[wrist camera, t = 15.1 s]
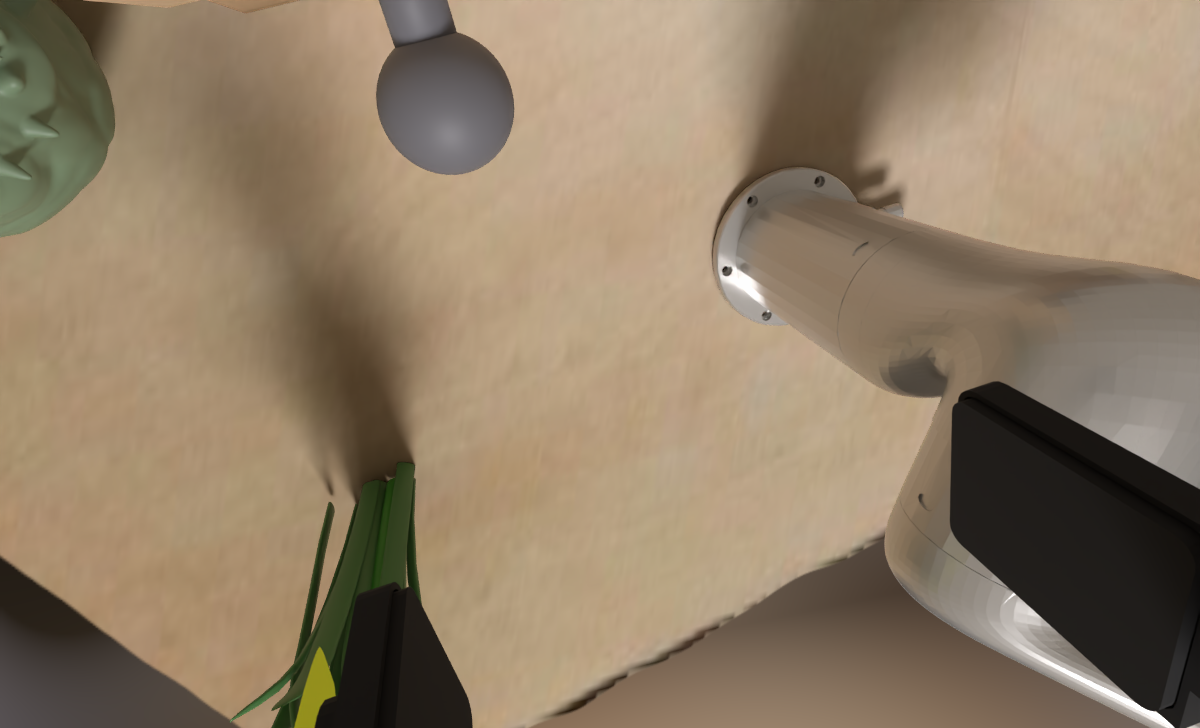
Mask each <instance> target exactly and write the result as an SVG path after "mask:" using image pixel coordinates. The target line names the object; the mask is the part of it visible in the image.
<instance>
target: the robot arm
mask: <svg viewBox="0 0 1200 728" xmlns="http://www.w3.org/2000/svg"><path fill="white" fill-rule="evenodd" d="M815 179H816V181H815ZM814 182H815V183H814ZM749 197H750V201H749V202H748V203H747V200H748V198H749ZM903 214H904V213H903V208H902V206H901V205H900V204H899V203H895V204H891V205H888V206H885V207H881V208H880V209H878V210H876V209H875V208H873V207H870V206H866V205H863V204H859V203H858V202H857V199H856V198H855V196H854V195H853V193H852V192H851V190H850V189H849V188H848V187H847V186H846V185H845V184H844V183H843V182H842V181H841V180H839V179H838V178H836V177H835V176H833V175H831V174H829V173H827V172H824V171H821V170H817V169H813V168H806V167H791V168H784V169H780V170H777V171H773V172H771V173H769V174H767V175H765V176H763V177H761V178H759V179H757V180H756V181H754V182H753V183H752V184H750V185H749V186H748V187H747V188H745V189H744V190H743V191H742V192H741V193H740V194H739V195H738V196H737V198H736V199H735V200H734V201H733V202H732V204H731V205H730V207H729V208H728V210H727V211H726V213H725V214H724V216H723V218H722V221H721V223H720V225H719V227H718V230H717V234H716V237H715V241H714V246H713V269H714V276H715V279H716V282H717V285H718V288H719V290H720V291H721V293H722V295H723V297H724V298H725V300H726V301H727V302H728V303H729V304H730V305H731V306H732V307H733V308H734V309H735V310H736V311H738V312H739V313H740V314H741V315H743V316H744V317H746V318H748V319H750V320H752V321H754V322H757V323H760V324H763V325H774V326H782V325H790V326H792V327H793V328H794V329H796V330H797V331H799V332H800V333H801V334H803V335H804V336H806V337H807V338H808V339H810V340H811V341H813V342H814V343H816V344H817V345H818V346H820V347H821V348H823V349H824V350H825V351H827V352H828V353H830V354H831V355H832V356H834V357H835V358H837V359H838V360H839V361H841V362H842V363H844V364H845V365H846V366H848V367H849V368H851V369H852V370H853V371H855V372H856V373H858V374H859V375H861V376H862V377H864V378H865V379H866V380H868V381H869V382H871V383H872V384H874V385H876V386H877V387H879V388H881V389H883V390H886V391H888V392H891V393H894V394H897V395H902V396H909V397H916V398H935V397H942V398H941V401H940V403H939V405H938V408H937V410H936V412H935V414H934V416H933V419H932V421H933V422H932V424H931V426H930V428H929V430H928V432H927V435H926V437H925V439H924V441H923V443H922V445H921V447H920V450H919V452H918V454H917V456H916V458H915V460H914V463H913V465H912V467H911V469H910V471H909V473H908V476H907V478H906V480H905V482H904V484H903V486H902V488H901V492H900V494H899V496H898V498H897V501H896V503H895V505H894V507H893V510H892V513H891V515H890V518H889V520H888V524H887V528H886V533H885V541H884V542H885V554H886V557H887V561H888V564H889V566H890V568H891V570H892V572H893V574H894V575H895V577H896V579H897V580H898V581H899V583H900V584H901V585H902V586H903V587H904V588H905V590H906V591H907V592H908V593H909V594H910V595H911V596H912V597H913V598H914V599H915V600H917V601H918V602H919V603H920V604H921V605H922V606H923V607H925V608H926V609H927V610H929V611H930V612H931V613H933V614H934V615H935V616H937V617H939V618H940V619H941V620H943V621H944V622H946V623H948V624H949V625H951V626H952V627H954V628H955V629H957V630H959V631H961V632H962V633H964V634H966V635H967V636H969V637H971V638H973V639H975V640H976V641H978V642H980V643H982V644H984V645H986V646H988V647H990V648H992V649H994V650H995V651H997V652H999V653H1001V654H1003V655H1005V656H1007V657H1009V658H1011V659H1013V660H1015V661H1017V662H1019V663H1021V664H1023V665H1025V666H1027V667H1029V668H1031V669H1033V670H1035V671H1037V672H1039V673H1041V674H1044V675H1045V676H1047V677H1049V678H1051V679H1053V680H1055V681H1057V682H1060V683H1061V684H1064V685H1066V686H1068V687H1070V688H1072V689H1074V690H1076V691H1078V692H1080V693H1082V694H1084V695H1086V696H1088V697H1090V698H1092V699H1094V700H1096V701H1098V702H1100V703H1102V704H1104V705H1106V706H1108V707H1110V708H1112V709H1114V710H1116V711H1118V712H1120V713H1122V714H1124V715H1126V716H1128V717H1130V718H1132V719H1134V720H1136V721H1138V722H1140V723H1142V724H1144V725H1146V726H1148V727H1150V728H1200V280H1199V279H1196V278H1192V277H1189V276H1186V275H1182V274H1179V273H1176V272H1173V271H1169V270H1164V269H1159V268H1153V267H1148V266H1142V265H1137V264H1131V263H1123V262H1114V261H1104V260H1095V259H1086V258H1076V257H1067V256H1059V255H1050V254H1044V253H1038V252H1032V251H1026V250H1020V249H1015V248H1011V247H1007V246H1003V245H999V244H995V243H991V242H987V241H983V240H979V239H975V238H971V237H968V236H964V235H961V234H958V233H954V232H951V231H947V230H943V229H940V228H937V227H933V226H930V225H927V224H923V223H920V222H916V221H913V220H910V219H906V218H903ZM725 266H726V267H725ZM724 267H725V270H723V271H722V269H723V268H724ZM763 312H764V313H763ZM315 728H472V714H471V708H470V704H469V700H468V697H467V695H466V693H465V691H464V689H463V687H462V685H461V683H460V681H459V679H458V677H457V675H456V673H455V671H454V669H453V667H452V665H451V663H450V661H449V659H448V657H447V655H446V653H445V651H444V649H443V647H442V645H441V643H440V641H439V639H438V637H437V635H436V633H435V631H434V629H433V627H432V625H431V623H430V621H429V619H428V617H427V615H426V613H425V611H424V609H423V607H422V605H421V603H420V601H419V599H418V597H417V595H416V593H415V591H414V590H413V588H412V587H407V588H404V589H401V587H400V586H399V584H397V583H396V582H392V583H389V584H386V585H383V586H380V587H377V588H374V589H371V590H368V591H365V592H362V593H359V594H358V596H357V597H356V601H355V605H354V611H353V616H352V621H351V627H350V632H349V638H348V643H347V649H346V654H345V659H344V665H343V670H342V676H341V681H340V687H339V692H338V695H337V696H334V697H331V698H329V699H326V700H325V701H324V702H323V703H322V705H321V706H320V709H319V712H318V715H317V718H316V723H315Z"/></svg>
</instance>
